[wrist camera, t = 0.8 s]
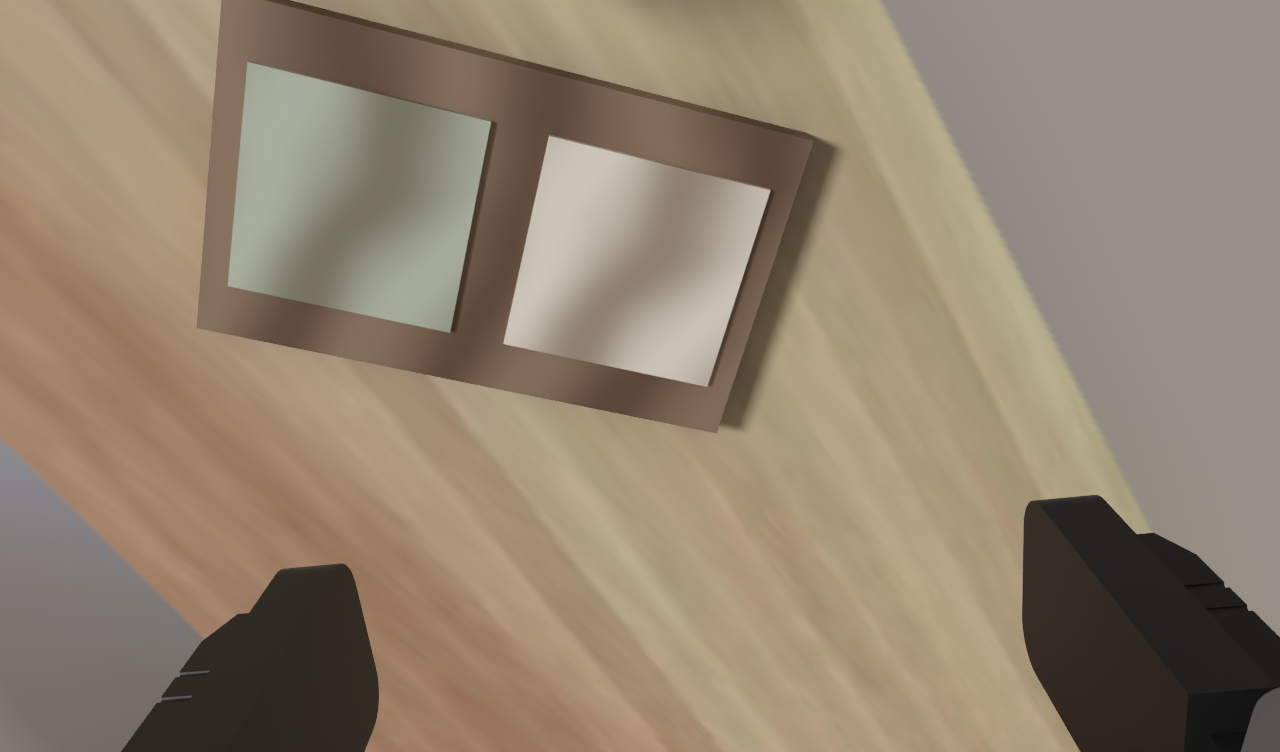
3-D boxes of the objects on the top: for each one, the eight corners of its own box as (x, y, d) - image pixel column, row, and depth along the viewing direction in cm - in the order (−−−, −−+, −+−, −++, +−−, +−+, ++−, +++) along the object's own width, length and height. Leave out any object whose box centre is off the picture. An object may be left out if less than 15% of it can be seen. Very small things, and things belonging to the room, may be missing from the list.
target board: (207, 315, 38) (195, 330, 36) (233, -14, 33) (220, -10, 31) (712, 418, 41) (717, 435, 40) (807, 133, 36) (815, 142, 35)
